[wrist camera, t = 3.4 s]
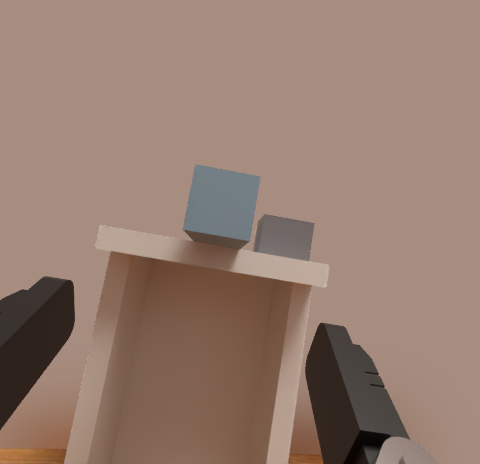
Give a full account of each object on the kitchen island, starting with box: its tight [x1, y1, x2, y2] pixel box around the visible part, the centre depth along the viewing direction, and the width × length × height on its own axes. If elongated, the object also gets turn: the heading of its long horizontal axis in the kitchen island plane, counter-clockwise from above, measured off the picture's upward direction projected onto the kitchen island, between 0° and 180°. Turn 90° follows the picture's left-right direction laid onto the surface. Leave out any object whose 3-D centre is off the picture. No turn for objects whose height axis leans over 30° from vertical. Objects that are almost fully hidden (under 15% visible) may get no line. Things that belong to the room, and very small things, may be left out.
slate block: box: [183, 165, 260, 249], centre depth 29 cm, size 4×22×4 cm, turn 4°
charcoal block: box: [253, 214, 314, 261], centre depth 33 cm, size 5×5×4 cm
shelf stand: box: [64, 225, 329, 464], centre depth 33 cm, size 20×16×32 cm
